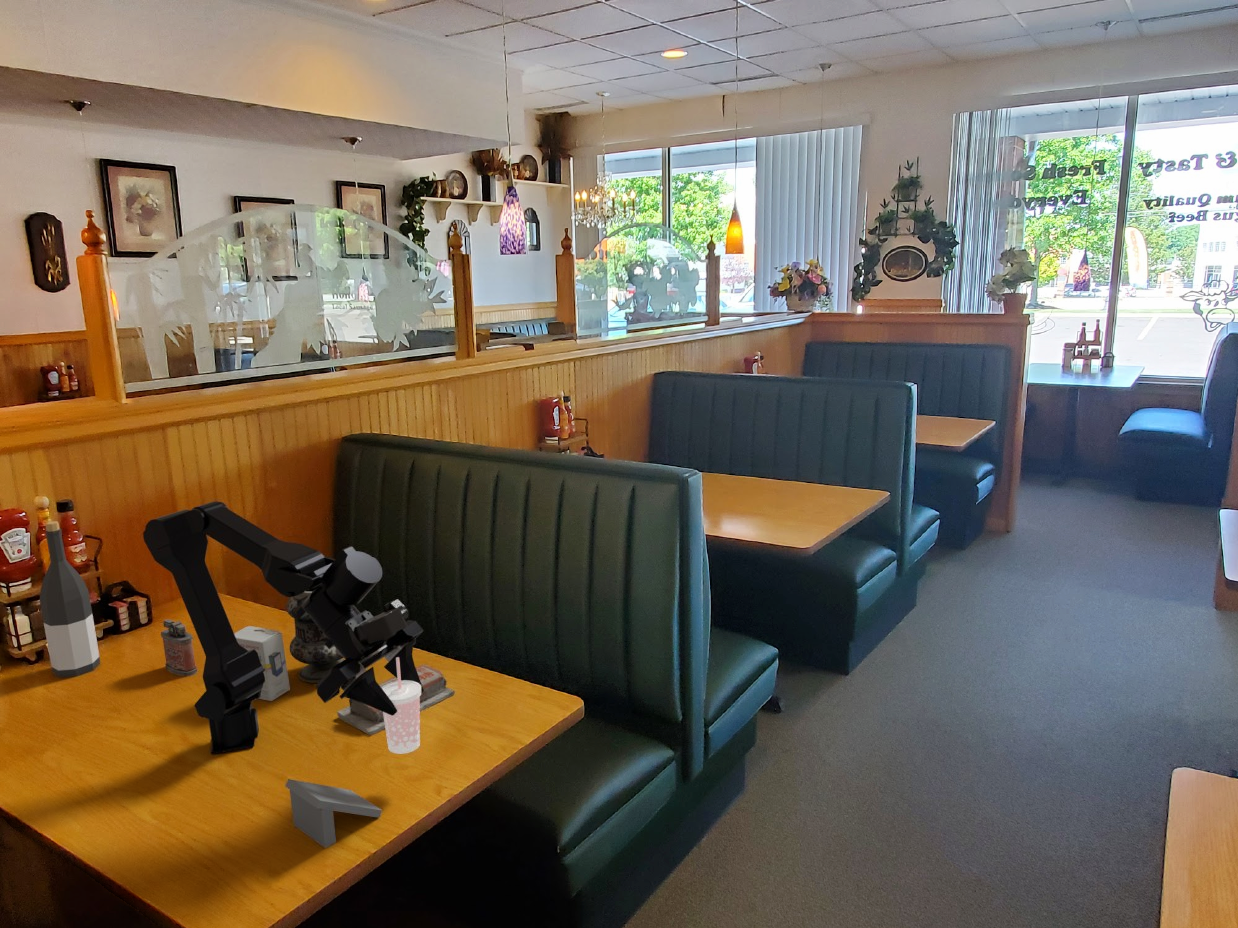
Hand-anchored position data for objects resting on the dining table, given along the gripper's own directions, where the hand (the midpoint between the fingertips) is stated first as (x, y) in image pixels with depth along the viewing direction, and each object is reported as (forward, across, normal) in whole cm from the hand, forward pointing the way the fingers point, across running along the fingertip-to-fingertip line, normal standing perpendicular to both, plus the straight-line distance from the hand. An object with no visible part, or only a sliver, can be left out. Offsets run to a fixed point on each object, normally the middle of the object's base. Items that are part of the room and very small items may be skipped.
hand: (408, 703), depth 126 cm
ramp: (+6, -11, +13) cm, 18 cm away
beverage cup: (+4, 0, +6) cm, 7 cm away
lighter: (-37, +17, +57) cm, 70 cm away
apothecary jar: (-18, +26, +37) cm, 49 cm away
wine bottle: (-51, +10, +72) cm, 89 cm away
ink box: (-21, +15, +41) cm, 49 cm away
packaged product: (-2, +19, +22) cm, 29 cm away
